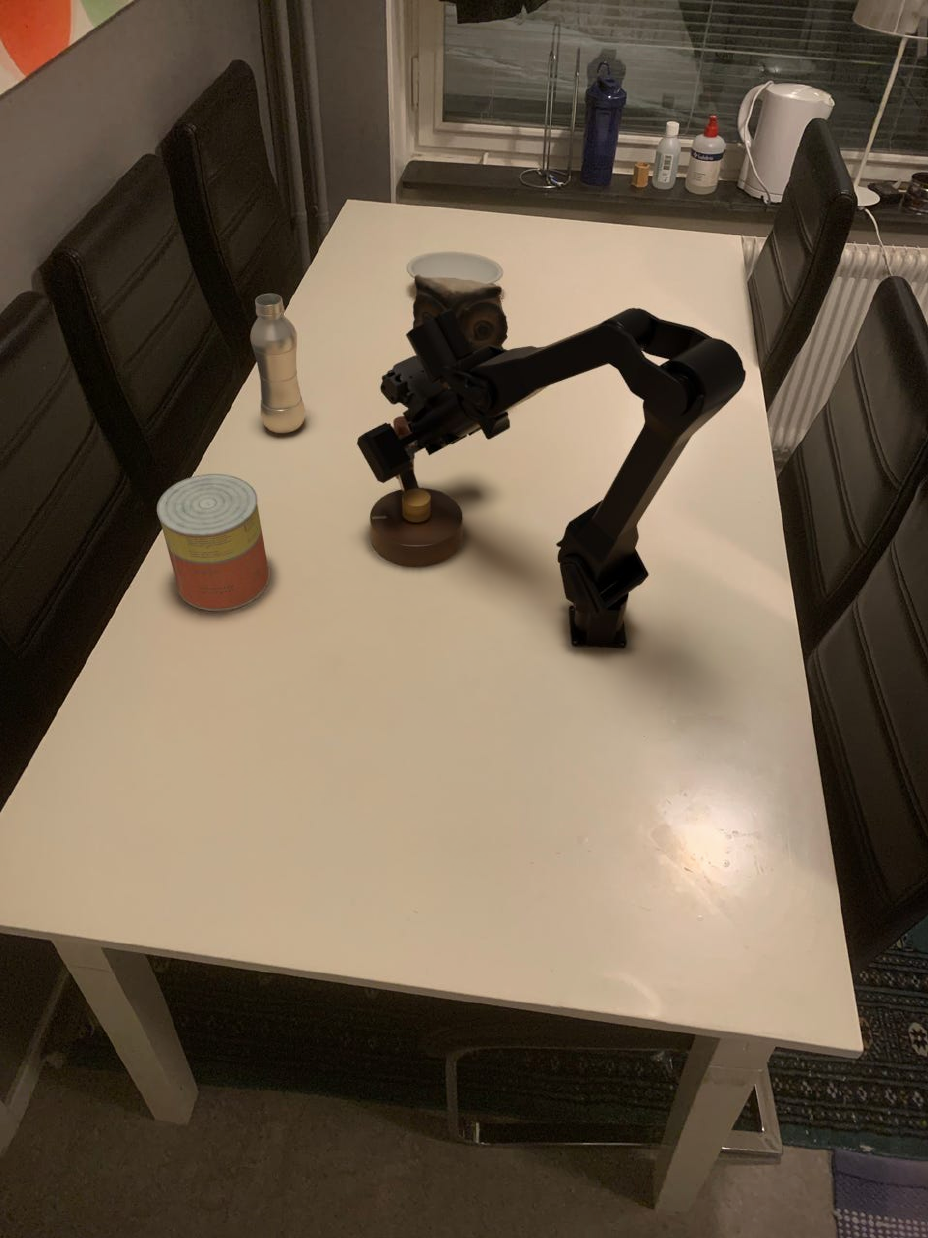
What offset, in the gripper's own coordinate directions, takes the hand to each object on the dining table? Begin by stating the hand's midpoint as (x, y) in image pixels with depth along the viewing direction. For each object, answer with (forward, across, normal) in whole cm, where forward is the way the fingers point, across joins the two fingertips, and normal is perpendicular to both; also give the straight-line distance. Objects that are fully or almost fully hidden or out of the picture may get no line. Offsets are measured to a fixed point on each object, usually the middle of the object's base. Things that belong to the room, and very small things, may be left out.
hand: (396, 449), depth 121 cm
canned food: (+7, +27, +4) cm, 28 cm away
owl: (+14, -25, -3) cm, 29 cm away
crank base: (0, +4, +11) cm, 12 cm away
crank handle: (-1, +2, +6) cm, 7 cm away
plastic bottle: (+22, +1, -12) cm, 25 cm away
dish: (+32, -48, -21) cm, 61 cm away
